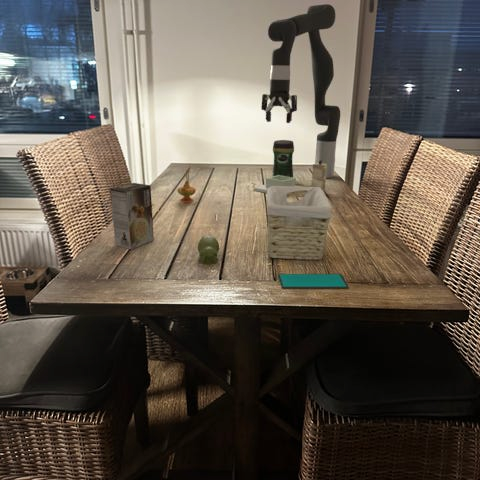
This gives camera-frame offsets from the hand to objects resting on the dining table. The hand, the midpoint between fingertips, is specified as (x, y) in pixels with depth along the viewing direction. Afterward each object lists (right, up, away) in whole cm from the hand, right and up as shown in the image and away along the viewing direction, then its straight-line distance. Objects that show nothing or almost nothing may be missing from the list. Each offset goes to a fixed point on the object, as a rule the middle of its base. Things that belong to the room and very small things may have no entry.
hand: (278, 122), depth 174 cm
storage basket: (0, -48, -50) cm, 70 cm away
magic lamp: (-35, -32, -7) cm, 48 cm away
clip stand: (+2, -25, +13) cm, 28 cm away
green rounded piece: (-23, -52, -60) cm, 83 cm away
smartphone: (+2, -57, -72) cm, 92 cm away
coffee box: (-45, -47, -50) cm, 82 cm away
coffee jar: (+4, -20, +27) cm, 34 cm away
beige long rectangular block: (+17, -27, +9) cm, 33 cm away
